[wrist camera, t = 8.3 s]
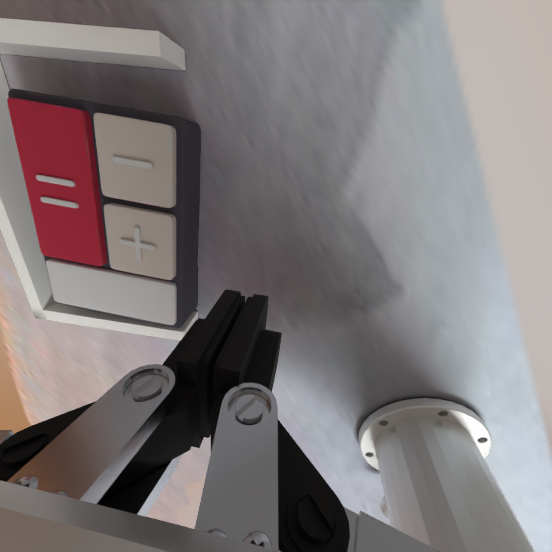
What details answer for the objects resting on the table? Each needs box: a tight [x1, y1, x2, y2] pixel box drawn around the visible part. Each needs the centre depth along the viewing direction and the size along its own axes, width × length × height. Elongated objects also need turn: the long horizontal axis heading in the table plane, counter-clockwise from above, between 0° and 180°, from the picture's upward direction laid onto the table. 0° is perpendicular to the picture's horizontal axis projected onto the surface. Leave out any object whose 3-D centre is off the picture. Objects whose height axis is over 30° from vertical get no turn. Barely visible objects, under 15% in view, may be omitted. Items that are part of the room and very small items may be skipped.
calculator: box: [7, 89, 201, 328], centre depth 20 cm, size 11×4×15 cm
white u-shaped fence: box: [0, 18, 198, 341], centre depth 19 cm, size 20×14×3 cm
